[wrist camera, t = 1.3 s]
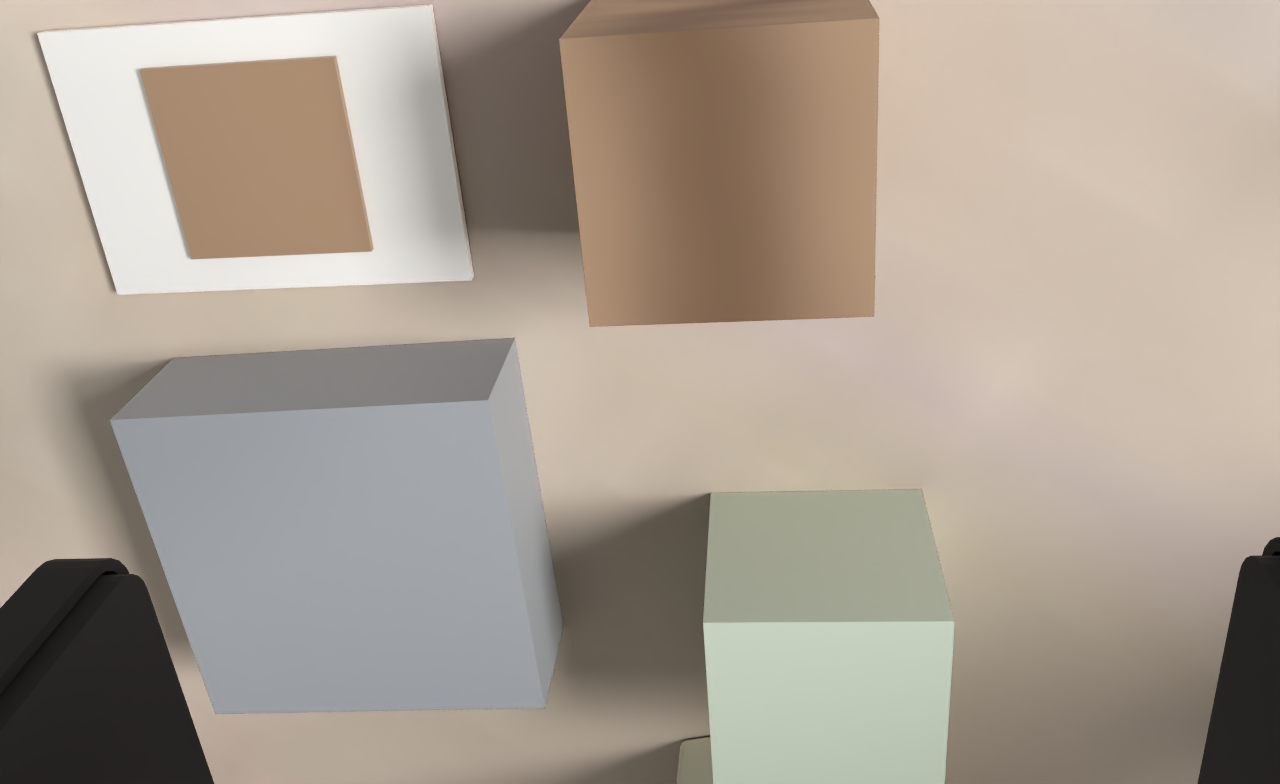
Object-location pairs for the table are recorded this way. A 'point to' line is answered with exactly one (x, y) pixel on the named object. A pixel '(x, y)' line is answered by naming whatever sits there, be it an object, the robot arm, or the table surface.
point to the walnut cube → (724, 158)
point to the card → (265, 150)
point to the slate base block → (351, 526)
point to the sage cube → (826, 639)
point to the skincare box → (695, 762)
